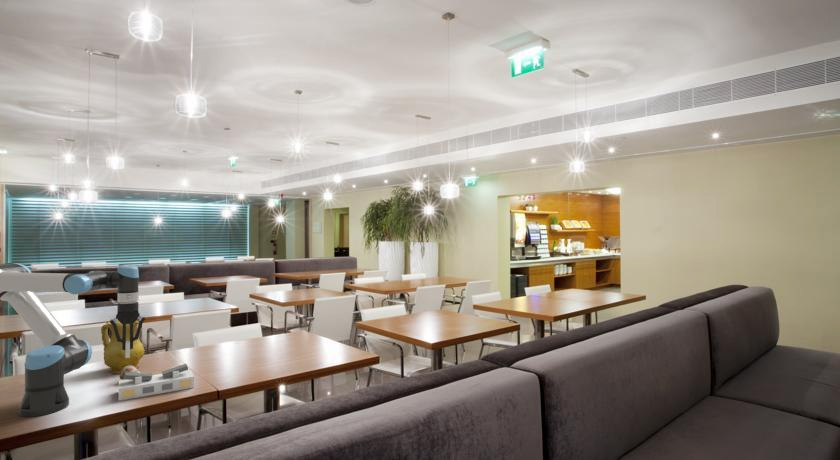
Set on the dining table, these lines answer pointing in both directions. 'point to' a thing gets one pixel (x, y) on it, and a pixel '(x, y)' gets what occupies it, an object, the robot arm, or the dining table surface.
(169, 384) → the switch unit
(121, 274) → the robot arm
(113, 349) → the pitcher
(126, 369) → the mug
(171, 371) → the rocker
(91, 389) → the dining table surface
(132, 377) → the rocker
